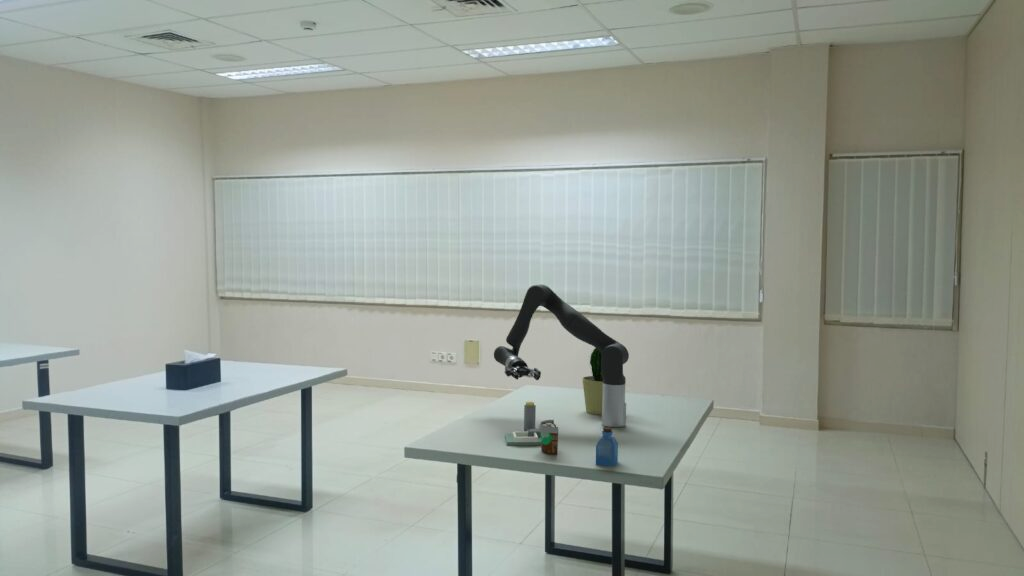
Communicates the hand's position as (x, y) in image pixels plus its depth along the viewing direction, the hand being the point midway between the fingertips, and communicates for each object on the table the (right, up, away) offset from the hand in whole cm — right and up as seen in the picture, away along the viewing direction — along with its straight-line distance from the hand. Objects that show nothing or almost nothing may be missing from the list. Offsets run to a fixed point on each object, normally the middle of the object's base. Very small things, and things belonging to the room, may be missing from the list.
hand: (527, 377), depth 294 cm
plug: (0, -21, -8) cm, 22 cm away
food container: (+6, -22, -33) cm, 40 cm away
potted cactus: (+32, -19, +33) cm, 50 cm away
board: (-2, -21, -20) cm, 29 cm away
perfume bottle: (+25, -23, -47) cm, 58 cm away
